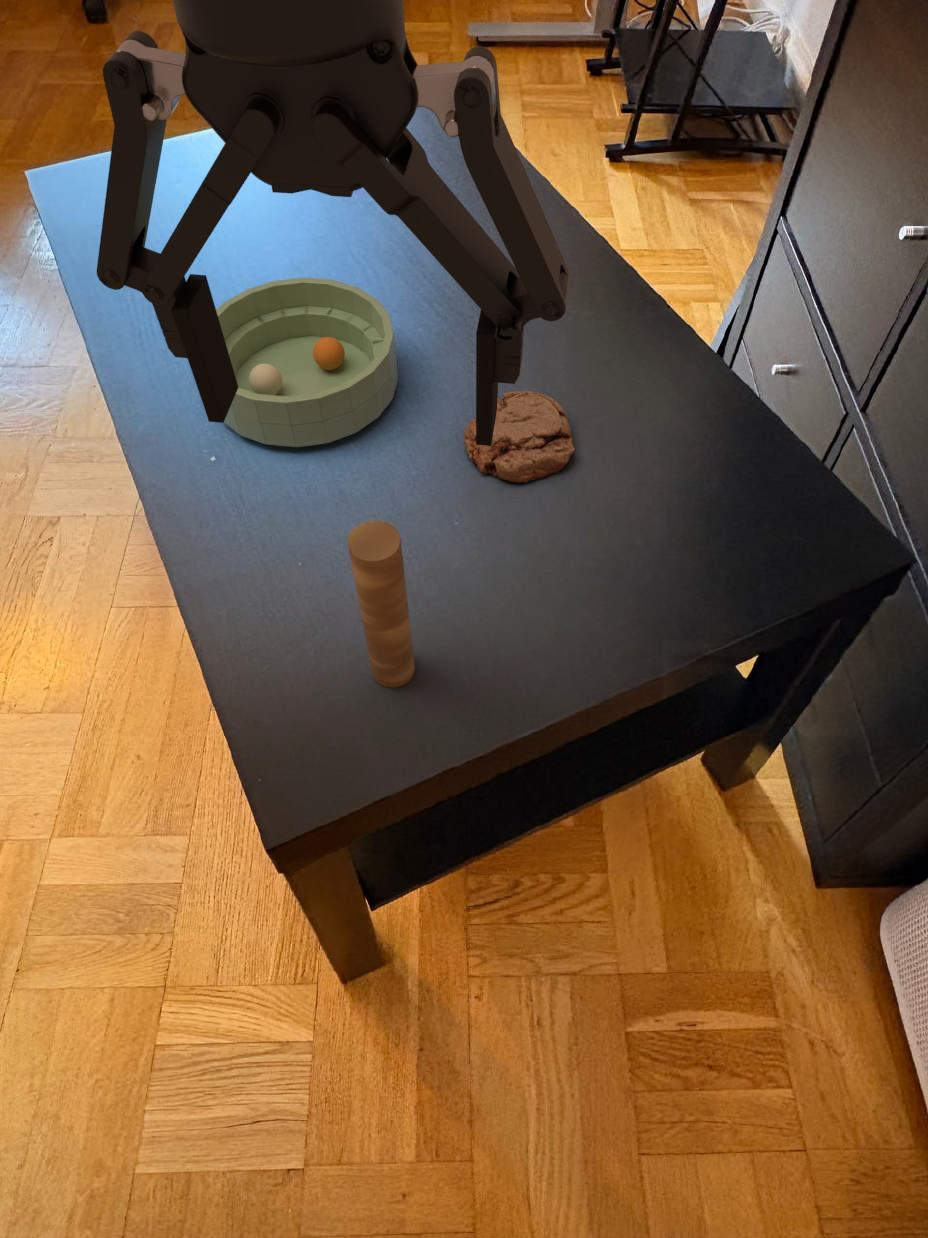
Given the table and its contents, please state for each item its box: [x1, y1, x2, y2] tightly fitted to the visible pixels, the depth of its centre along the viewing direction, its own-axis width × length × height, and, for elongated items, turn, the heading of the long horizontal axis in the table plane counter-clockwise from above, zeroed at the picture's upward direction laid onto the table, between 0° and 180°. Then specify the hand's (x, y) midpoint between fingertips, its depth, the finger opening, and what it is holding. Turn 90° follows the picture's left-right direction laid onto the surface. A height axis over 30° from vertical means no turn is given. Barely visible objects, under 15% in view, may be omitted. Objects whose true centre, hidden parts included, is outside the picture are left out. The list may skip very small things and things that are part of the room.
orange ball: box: [313, 337, 345, 370], centre depth 80 cm, size 3×3×3 cm
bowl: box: [216, 277, 399, 448], centre depth 79 cm, size 18×18×6 cm
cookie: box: [463, 390, 575, 484], centre depth 75 cm, size 10×11×3 cm
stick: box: [347, 520, 416, 688], centre depth 57 cm, size 3×3×15 cm
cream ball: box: [249, 363, 282, 395], centre depth 78 cm, size 3×3×3 cm
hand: (353, 415), depth 43 cm, fingers open, 13 cm apart
